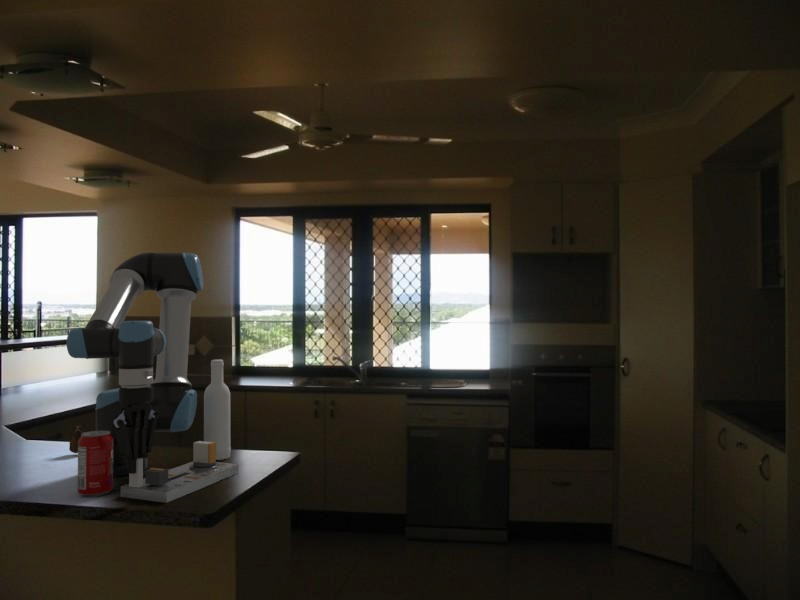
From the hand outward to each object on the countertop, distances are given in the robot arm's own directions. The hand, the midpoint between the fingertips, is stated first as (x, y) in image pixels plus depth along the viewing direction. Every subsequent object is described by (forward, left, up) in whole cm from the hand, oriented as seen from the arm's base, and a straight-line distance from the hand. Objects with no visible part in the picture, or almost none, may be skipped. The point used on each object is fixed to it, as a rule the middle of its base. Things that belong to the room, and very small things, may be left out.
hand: (136, 486), depth 145 cm
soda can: (-15, +2, -4) cm, 16 cm away
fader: (0, +7, -4) cm, 8 cm away
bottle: (-10, +43, -4) cm, 45 cm away
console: (0, +16, -4) cm, 17 cm away
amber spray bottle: (-55, +31, -4) cm, 63 cm away
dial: (0, +25, -1) cm, 25 cm away
